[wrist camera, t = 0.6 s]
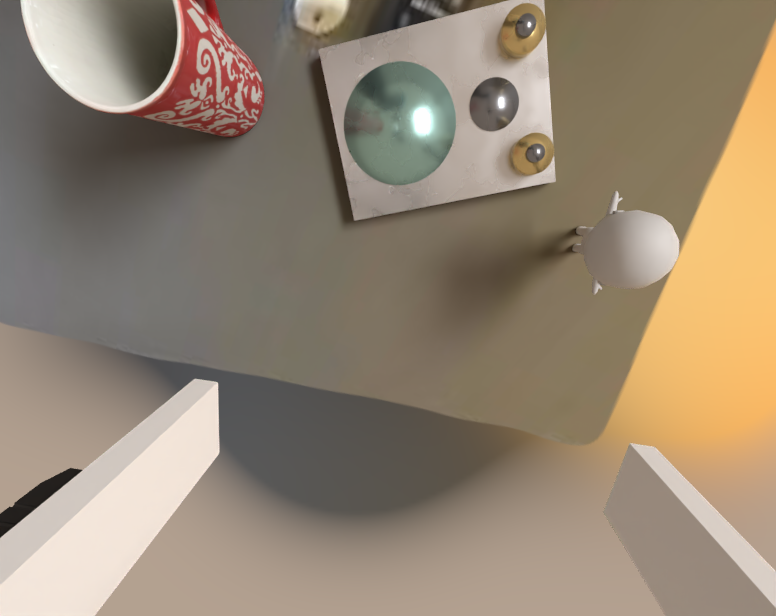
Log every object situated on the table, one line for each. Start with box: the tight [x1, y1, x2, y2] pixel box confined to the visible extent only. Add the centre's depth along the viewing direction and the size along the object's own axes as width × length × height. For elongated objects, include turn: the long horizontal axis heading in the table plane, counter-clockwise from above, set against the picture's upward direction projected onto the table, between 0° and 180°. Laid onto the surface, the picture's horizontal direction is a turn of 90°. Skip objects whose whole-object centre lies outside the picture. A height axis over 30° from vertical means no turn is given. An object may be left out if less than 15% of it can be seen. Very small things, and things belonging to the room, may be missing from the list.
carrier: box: [319, 0, 556, 221], centre depth 30 cm, size 14×18×3 cm
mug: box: [21, 0, 264, 137], centre depth 25 cm, size 13×9×14 cm
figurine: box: [572, 191, 679, 294], centre depth 28 cm, size 8×5×12 cm
